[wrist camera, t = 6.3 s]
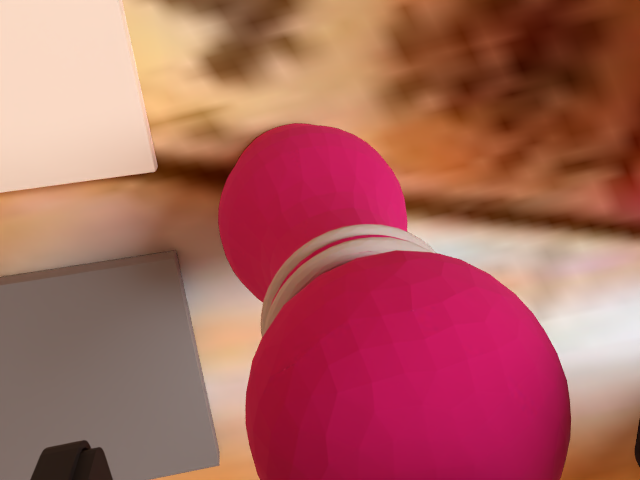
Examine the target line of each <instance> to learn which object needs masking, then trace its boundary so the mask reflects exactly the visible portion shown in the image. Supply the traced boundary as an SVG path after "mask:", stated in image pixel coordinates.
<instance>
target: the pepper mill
mask: <svg viewBox="0 0 640 480" xmlns="http://www.w3.org/2000/svg"><path fill="white" fill-rule="evenodd" d="M218 224H219V231H220V237H221V241H222V244H223V248H224V251H225V255H226V258H227V260H228V262H229V264H230V266H231V268H232V269H233V271H234V273H235V274H236V275H237V277H238V278H239V279H240V281H241V282H242V283H243V284H244V285H245V286H246V287H247V288H248V289H249V290H250V291H251V292H252V293H253V294H254V295H255V296H256V297H257V298H258V299H259V300H260V301H262V302H263V308H262V313H261V334H262V339H261V342H260V344H259V347H258V349H257V351H256V354H255V356H254V358H253V361H252V366H251V371H250V376H249V381H248V386H247V391H246V429H247V434H248V440H249V445H250V449H251V453H252V456H253V460H254V463H255V467H256V471H257V474H258V476H259V478H260V480H560V478H561V474H562V471H563V467H564V464H565V460H566V455H567V451H568V446H569V441H570V430H571V413H570V399H569V392H568V385H567V380H566V377H565V374H564V372H563V369H562V366H561V363H560V360H559V358H558V355H557V352H556V351H555V349H554V347H553V345H552V343H551V341H550V340H549V338H548V336H547V334H546V332H545V331H544V329H543V328H542V326H541V325H540V323H539V322H538V320H537V319H536V317H535V316H534V314H533V313H532V312H531V311H530V310H529V309H528V308H527V306H526V305H525V304H524V303H523V302H522V301H521V300H520V299H519V298H518V297H517V296H516V294H514V293H513V292H512V291H510V290H509V289H508V288H506V287H505V286H504V285H503V284H501V283H500V282H499V281H497V280H496V279H495V278H494V277H492V276H491V275H490V274H488V273H486V272H484V271H482V270H480V269H478V268H476V267H474V266H472V265H470V264H468V263H466V262H464V261H462V260H460V259H456V258H453V257H449V256H445V255H441V254H437V253H436V252H435V251H434V250H433V249H432V248H431V247H430V246H429V245H428V244H426V243H425V242H424V241H422V240H421V239H419V238H418V237H416V236H414V235H412V234H411V233H409V232H407V215H406V207H405V200H404V196H403V193H402V190H401V187H400V184H399V182H398V180H397V178H396V176H395V174H394V172H393V171H392V169H391V168H390V167H389V166H388V164H387V163H386V162H385V161H384V159H383V158H382V157H381V156H380V155H379V153H378V152H377V151H376V150H375V149H373V148H372V147H371V146H370V145H369V144H368V143H367V142H365V141H363V140H362V139H360V138H358V137H357V136H355V135H353V134H350V133H348V132H345V131H343V130H340V129H337V128H333V127H327V126H317V125H311V124H298V123H294V124H289V125H284V126H280V127H276V128H274V129H271V130H269V131H267V132H265V133H263V134H262V135H260V136H259V137H257V138H256V139H255V140H254V141H253V142H252V143H251V144H250V145H249V146H248V147H247V148H246V149H245V150H244V151H243V153H242V154H241V156H240V158H239V159H238V161H237V163H236V165H235V167H234V168H233V170H232V171H231V173H230V175H229V176H228V178H227V180H226V183H225V186H224V188H223V191H222V194H221V199H220V204H219V213H218Z"/></svg>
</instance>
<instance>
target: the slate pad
mask: <svg viewBox="0 0 640 480" xmlns="http://www.w3.org/2000/svg"><path fill="white" fill-rule="evenodd" d="M81 440H86V441H87V442H88V443H89V444H90V446H91V449H92V448H97V447H101V448H102V449H103V451H104V453H105V456H106V459H107V462H108V466H109V469H110V472H111V475H112V478H113V480H150V479H155V478H160V477H164V476H169V475H174V474H179V473H184V472H189V471H194V470H199V469H204V468H209V467H214V466H219V448H218V443H217V438H216V434H215V429H214V424H213V420H212V415H211V411H210V406H209V401H208V397H207V392H206V387H205V383H204V378H203V373H202V369H201V364H200V360H199V355H198V350H197V346H196V341H195V336H194V332H193V327H192V322H191V318H190V313H189V308H188V304H187V299H186V295H185V290H184V285H183V281H182V276H181V271H180V267H179V262H178V257H177V253H176V250H175V251H168V252H162V253H155V254H149V255H142V256H136V257H129V258H123V259H116V260H110V261H103V262H97V263H90V264H83V265H77V266H70V267H64V268H57V269H51V270H44V271H38V272H31V273H25V274H18V275H12V276H5V277H0V480H30V479H31V477H32V474H33V472H34V469H35V467H36V464H37V462H38V460H39V457H40V455H41V453H42V451H43V450H44V449H45V448H47V447H52V446H57V445H62V444H67V443H71V442H76V441H81Z"/></svg>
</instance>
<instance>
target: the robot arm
mask: <svg viewBox="0 0 640 480" xmlns="http://www.w3.org/2000/svg"><path fill="white" fill-rule="evenodd" d="M635 457H636V461H637V463H638V465H639V467H640V420H639V426H638V432H637V439H636V445H635ZM30 480H113V478H112V475H111V472H110V469H109V466H108V462H107V459H106V456H105V453H104V451H103V449H102V448H101V447H97V448H92V449H91V446H90V444H89V443H88V442H87V441H86V440H81V441H76V442H71V443H67V444H62V445H57V446H52V447H47V448H45V449H44V450H43V451H42V453H41V455H40V457H39V460H38V462H37V464H36V467H35V469H34V472H33V474H32V477H31V479H30Z"/></svg>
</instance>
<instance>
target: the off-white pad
mask: <svg viewBox="0 0 640 480" xmlns="http://www.w3.org/2000/svg"><path fill="white" fill-rule="evenodd" d="M157 167H158V165H157V160H156V155H155V151H154V146H153V141H152V137H151V132H150V128H149V123H148V118H147V114H146V109H145V104H144V100H143V95H142V90H141V86H140V81H139V77H138V72H137V67H136V63H135V58H134V53H133V49H132V44H131V39H130V35H129V30H128V26H127V21H126V16H125V12H124V7H123V2H122V0H0V193H2V192H9V191H16V190H24V189H31V188H38V187H46V186H53V185H61V184H68V183H75V182H83V181H90V180H98V179H105V178H112V177H120V176H127V175H134V174H142V173H149V172H155V171H156V169H157Z"/></svg>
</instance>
